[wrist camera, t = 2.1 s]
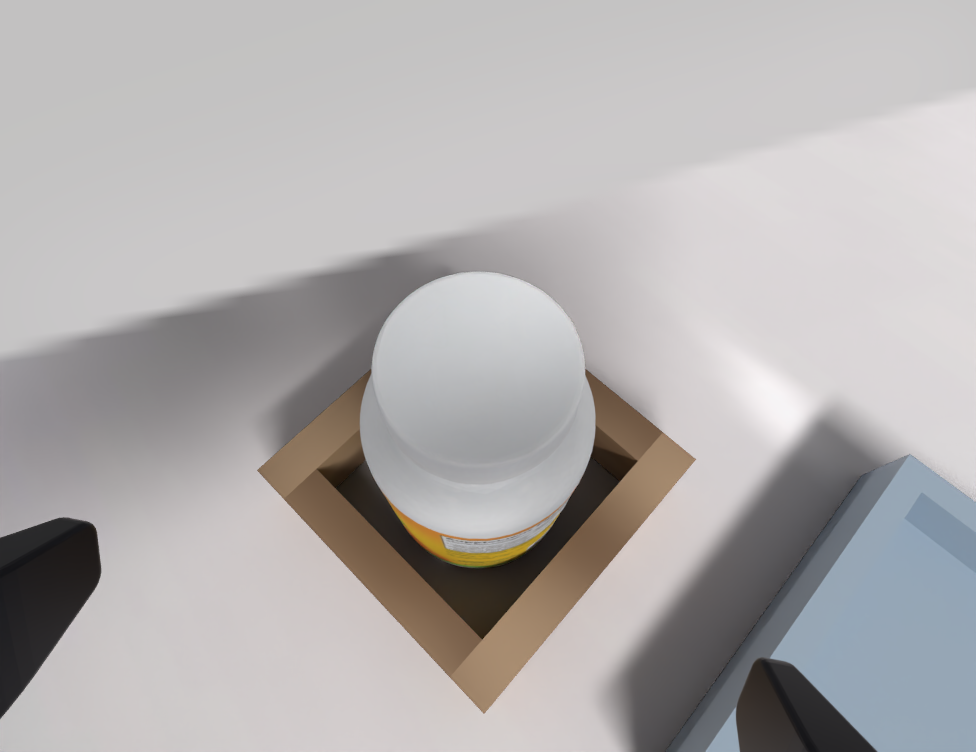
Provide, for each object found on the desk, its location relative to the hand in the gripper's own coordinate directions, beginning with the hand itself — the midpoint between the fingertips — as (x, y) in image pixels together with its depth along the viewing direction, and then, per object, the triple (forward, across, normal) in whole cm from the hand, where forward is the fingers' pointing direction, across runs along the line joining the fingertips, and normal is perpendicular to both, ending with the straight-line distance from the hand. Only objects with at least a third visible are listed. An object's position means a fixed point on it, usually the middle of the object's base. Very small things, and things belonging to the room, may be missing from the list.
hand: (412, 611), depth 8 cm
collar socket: (+11, 0, +5) cm, 12 cm away
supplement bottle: (+11, 0, +5) cm, 12 cm away
